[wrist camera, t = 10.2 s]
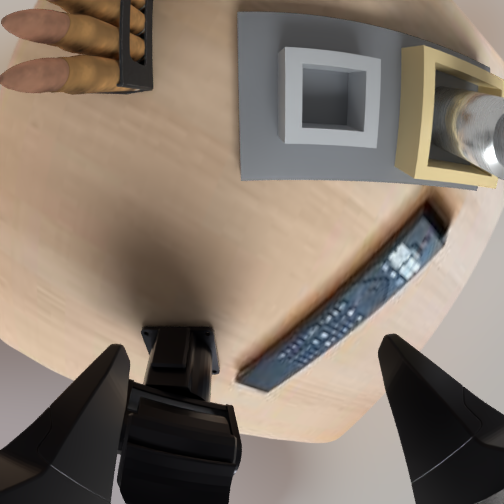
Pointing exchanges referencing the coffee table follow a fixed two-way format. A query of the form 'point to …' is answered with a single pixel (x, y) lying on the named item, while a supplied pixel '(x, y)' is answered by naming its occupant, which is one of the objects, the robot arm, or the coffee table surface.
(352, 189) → the coffee table surface
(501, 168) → the steel fitting
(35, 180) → the coffee table surface
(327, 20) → the board
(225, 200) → the coffee table surface
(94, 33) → the ammunition clip
